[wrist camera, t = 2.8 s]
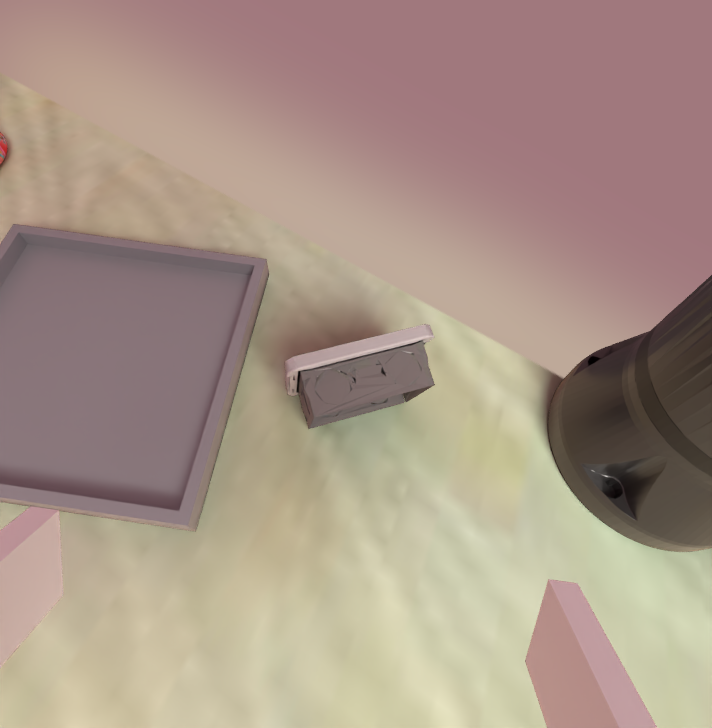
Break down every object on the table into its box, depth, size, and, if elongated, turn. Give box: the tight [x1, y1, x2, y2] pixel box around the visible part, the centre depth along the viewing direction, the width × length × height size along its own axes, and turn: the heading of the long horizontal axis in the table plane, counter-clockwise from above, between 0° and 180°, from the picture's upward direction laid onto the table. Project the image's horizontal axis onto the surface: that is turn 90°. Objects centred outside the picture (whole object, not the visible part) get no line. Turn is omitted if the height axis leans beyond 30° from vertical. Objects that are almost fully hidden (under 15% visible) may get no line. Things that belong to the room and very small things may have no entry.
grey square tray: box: [0, 224, 269, 531], centre depth 36 cm, size 22×22×2 cm
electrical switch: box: [285, 324, 435, 428], centre depth 33 cm, size 9×5×9 cm, turn 108°
